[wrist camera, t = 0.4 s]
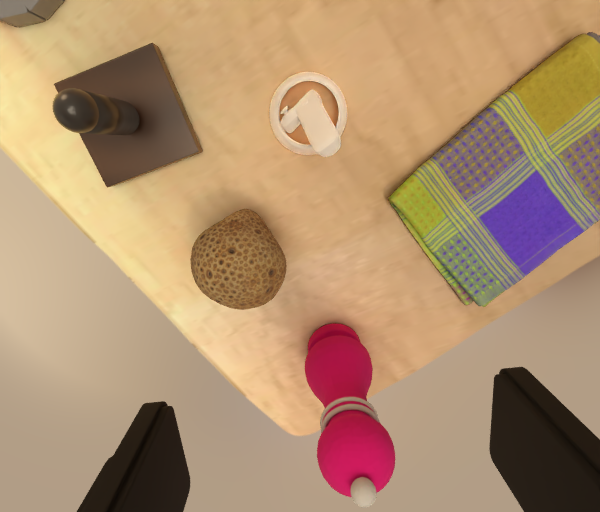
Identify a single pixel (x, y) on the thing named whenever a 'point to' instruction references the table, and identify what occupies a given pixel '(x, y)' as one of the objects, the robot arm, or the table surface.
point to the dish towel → (513, 178)
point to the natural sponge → (238, 262)
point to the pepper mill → (348, 415)
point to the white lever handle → (309, 117)
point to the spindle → (127, 115)
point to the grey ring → (27, 11)
